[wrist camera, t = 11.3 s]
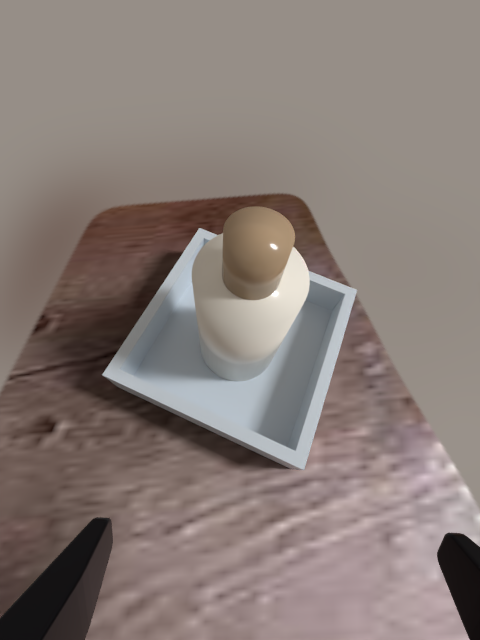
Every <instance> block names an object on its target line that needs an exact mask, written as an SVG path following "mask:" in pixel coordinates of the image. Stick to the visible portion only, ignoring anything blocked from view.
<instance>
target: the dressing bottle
mask: <svg viewBox="0 0 480 640" xmlns="http://www.w3.org/2000/svg"><path fill="white" fill-rule="evenodd" d="M294 242H295V233H294V229H293V227H292V225H291V224H290V222H289V221H288V220H287V219H286V218H285V217H284V216H283V215H281V214H280V213H278V212H276V211H274V210H272V209H269V208H265V207H247V208H243V209H240V210H238V211H236V212H234V213H233V214H232V215H231V216H230V217H229V218H228V219H227V221H226V222H225V225H224V229H223V233H222V234H220V235H218V236H216V237H214V238H212V239H211V240H210V241H208V242H207V243H206V244H205V245H204V246H203V247H202V248H201V250H200V251H199V252H198V254H197V256H196V258H195V260H194V263H193V267H192V285H193V293H194V301H195V309H196V317H197V324H198V332H199V340H200V348H201V354H202V357H203V359H204V362H205V363H206V365H207V366H208V367H209V369H210V370H211V371H212V372H214V373H215V374H216V375H218V376H220V377H221V378H224V379H226V380H231V381H246V380H250V379H253V378H255V377H257V376H258V375H260V374H261V373H263V372H264V371H265V370H266V369H267V367H268V366H269V364H270V363H271V361H272V359H273V357H274V356H275V354H276V352H277V350H278V348H279V347H280V345H281V343H282V341H283V340H284V338H285V336H286V334H287V332H288V331H289V329H290V327H291V325H292V324H293V322H294V320H295V318H296V316H297V315H298V313H299V311H300V309H301V308H302V306H303V304H304V302H305V300H306V298H307V295H308V292H309V286H310V278H309V272H308V269H307V266H306V264H305V261H304V259H303V258H302V256H301V255H300V254H299V252H298V251H297V250H296V249H295V248H294V247H293V245H294Z"/></svg>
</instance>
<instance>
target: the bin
mask: <svg viewBox="0 0 480 640" xmlns="http://www.w3.org/2000/svg"><path fill="white" fill-rule="evenodd" d="M216 236H218V235H216V234H213V233H211V232H208V231H206V230H203V229H201V228H199V230H198V231H197V233H196V234H195V236H194V237H193V239H192V240H191V242H190V243H189V245H188V246H187V248H186V249H185V251H184V252H183V254H182V255H181V257H180V258H179V260H178V261H177V263H176V264H175V266H174V267H173V269H172V270H171V272H170V273H169V275H168V276H167V278H166V279H165V281H164V282H163V284H162V285H161V287H160V288H159V290H158V291H157V293H156V294H155V296H154V297H153V299H152V300H151V302H150V303H149V305H148V306H147V308H146V309H145V311H144V312H143V314H142V316H141V317H140V319H139V320H138V322H137V323H136V325H135V326H134V328H133V329H132V331H131V332H130V334H129V335H128V337H127V338H126V340H125V341H124V343H123V344H122V346H121V347H120V349H119V350H118V352H117V353H116V355H115V356H114V358H113V359H112V361H111V362H110V364H109V365H108V367H107V368H106V370H105V371H104V373H103V374H102V375H103V376H104V377H105V378H107V379H108V380H109V381H110V382H112V383H113V384H114V385H116V386H117V387H119V388H121V389H123V390H125V391H127V392H129V393H131V394H133V395H135V396H138V397H140V398H142V399H144V400H146V401H148V402H150V403H152V404H154V405H157V406H159V407H161V408H163V409H165V410H167V411H169V412H171V413H173V414H176V415H178V416H180V417H182V418H184V419H186V420H188V421H190V422H192V423H195V424H197V425H199V426H201V427H203V428H205V429H207V430H209V431H211V432H214V433H216V434H218V435H220V436H222V437H224V438H226V439H228V440H230V441H233V442H235V443H237V444H239V445H241V446H243V447H245V448H247V449H249V450H252V451H254V452H256V453H258V454H260V455H262V456H264V457H266V458H268V459H271V460H273V461H275V462H277V463H279V464H281V465H283V466H285V467H287V468H290V469H296V470H304V468H305V465H306V462H307V458H308V455H309V451H310V448H311V445H312V441H313V438H314V434H315V431H316V428H317V424H318V421H319V418H320V414H321V411H322V407H323V404H324V401H325V397H326V394H327V390H328V387H329V384H330V380H331V377H332V373H333V370H334V367H335V363H336V360H337V356H338V353H339V350H340V346H341V343H342V339H343V336H344V333H345V329H346V326H347V322H348V319H349V316H350V312H351V309H352V306H353V302H354V299H355V295H356V292H357V290H356V289H353V288H351V287H348V286H346V285H343V284H340V283H338V282H335V281H333V280H330V279H328V278H325V277H323V276H320V275H318V274H315V273H312V272H310V271H308V272H309V278H310V286H309V292H308V295H307V298H306V300H305V302H304V304H303V306H302V308H301V309H300V311H299V313H298V315H297V316H296V318H295V320H294V322H293V324H292V325H291V327H290V329H289V331H288V332H287V334H286V336H285V338H284V340H283V341H282V343H281V345H280V347H279V348H278V350H277V352H276V354H275V356H274V357H273V359H272V361H271V363H270V364H269V366H268V367H267V369H266V370H265V371H264V372H263V373H261V374H260V375H258V376H257V377H255V378H253V379H250V380H246V381H231V380H226V379H224V378H221V377H220V376H218V375H216V374H215V373H214V372H212V371H211V370H210V369H209V367H208V366H207V365H206V363H205V362H204V359H203V357H202V354H201V348H200V340H199V332H198V324H197V317H196V309H195V301H194V293H193V285H192V267H193V263H194V260H195V258H196V256H197V254H198V252H199V251H200V250H201V248H202V247H203V246H204V245H205V244H206V243H207V242H208V241H210V240H211V239H212V238H214V237H216Z"/></svg>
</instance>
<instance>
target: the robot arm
mask: <svg viewBox="0 0 480 640" xmlns="http://www.w3.org/2000/svg"><path fill="white" fill-rule="evenodd" d="M112 544H113V536H112V523H111V519H110V518H98V517H97V518H94V519H93V520H92V521H91V522H90V523H89V524H88V525H87V526H86V527H85V528H84V529H83V530H82V531H81V532H80V533H79V534H78V535H77V537H76V538H75V539H74V540H73V541H72V542H71V543H70V544H69V545H68V546H67V547H66V548H65V549H64V550H63V552H62V553H61V554H60V555H59V556H58V557H57V558H56V559H55V560H54V561H53V562H52V563H51V564H50V565H49V566H48V568H47V569H46V570H45V571H44V572H43V573H42V574H41V575H40V576H39V577H38V578H37V579H36V580H35V581H34V583H33V584H32V585H31V586H30V587H29V588H28V589H27V590H26V591H25V592H24V593H23V594H22V595H21V596H20V598H19V599H18V600H17V601H16V602H15V603H14V604H13V605H12V606H11V607H10V608H9V609H8V610H7V611H6V613H5V614H4V615H3V616H2V617H1V618H0V640H85V638H86V635H87V632H88V629H89V626H90V623H91V619H92V616H93V613H94V609H95V606H96V602H97V599H98V595H99V592H100V588H101V585H102V581H103V577H104V574H105V570H106V567H107V563H108V560H109V556H110V553H111V549H112ZM437 558H438V562H439V565H440V568H441V570H442V573H443V575H444V578H445V580H446V583H447V585H448V588H449V590H450V593H451V595H452V598H453V600H454V603H455V605H456V607H457V610H458V612H459V615H460V617H461V620H462V622H463V625H464V627H465V630H466V632H467V634H468V637H469V639H470V640H480V547H479V546H478V545H477V544H475V543H474V542H473V541H472V540H471V539H469V538H468V537H467V536H465V535H464V534H461V533H447V534H446V535H445V536H444V538H443V541H442V543H441V545H440V547H439V550H438V552H437Z"/></svg>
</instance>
